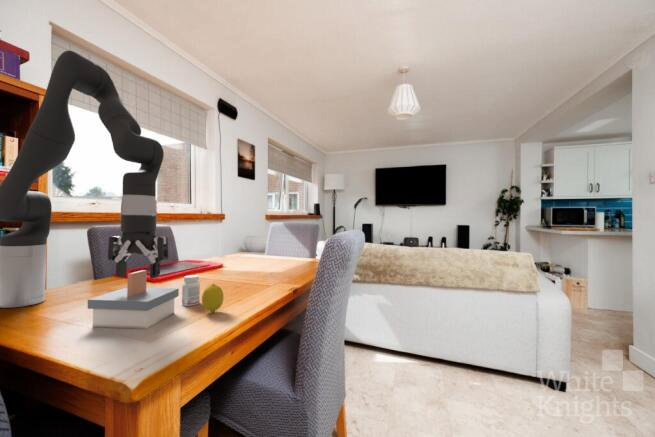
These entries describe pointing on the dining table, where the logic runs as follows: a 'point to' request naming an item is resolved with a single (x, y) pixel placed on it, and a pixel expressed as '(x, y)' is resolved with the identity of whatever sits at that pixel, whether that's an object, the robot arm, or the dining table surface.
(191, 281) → the pill bottle
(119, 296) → the lid
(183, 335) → the dining table surface
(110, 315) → the box
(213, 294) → the lemon
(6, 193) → the robot arm
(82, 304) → the dining table surface
